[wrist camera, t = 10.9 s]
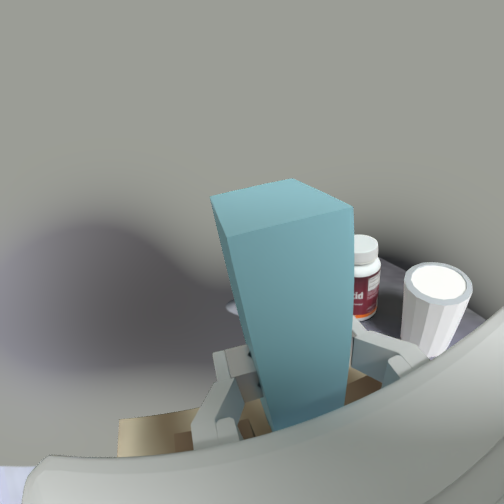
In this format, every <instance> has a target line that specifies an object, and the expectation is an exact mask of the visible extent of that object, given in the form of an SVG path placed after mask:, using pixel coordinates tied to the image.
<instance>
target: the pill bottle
mask: <svg viewBox="0 0 504 504" xmlns="http://www.w3.org/2000/svg"><path fill="white" fill-rule="evenodd" d="M377 256H378V243H377V241H376V240H375V239H374V238H372V237H370V236H366V235H354V303H353V315H354V316H355V317H356V319H357V320H358V321H364V320H367V319H369V318H370V317H372V316H373V315H374V314H375V312H376V309H377V301H378V291H379V280H380V268H381V263H380V260H379V258H378V257H377Z"/></svg>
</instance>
